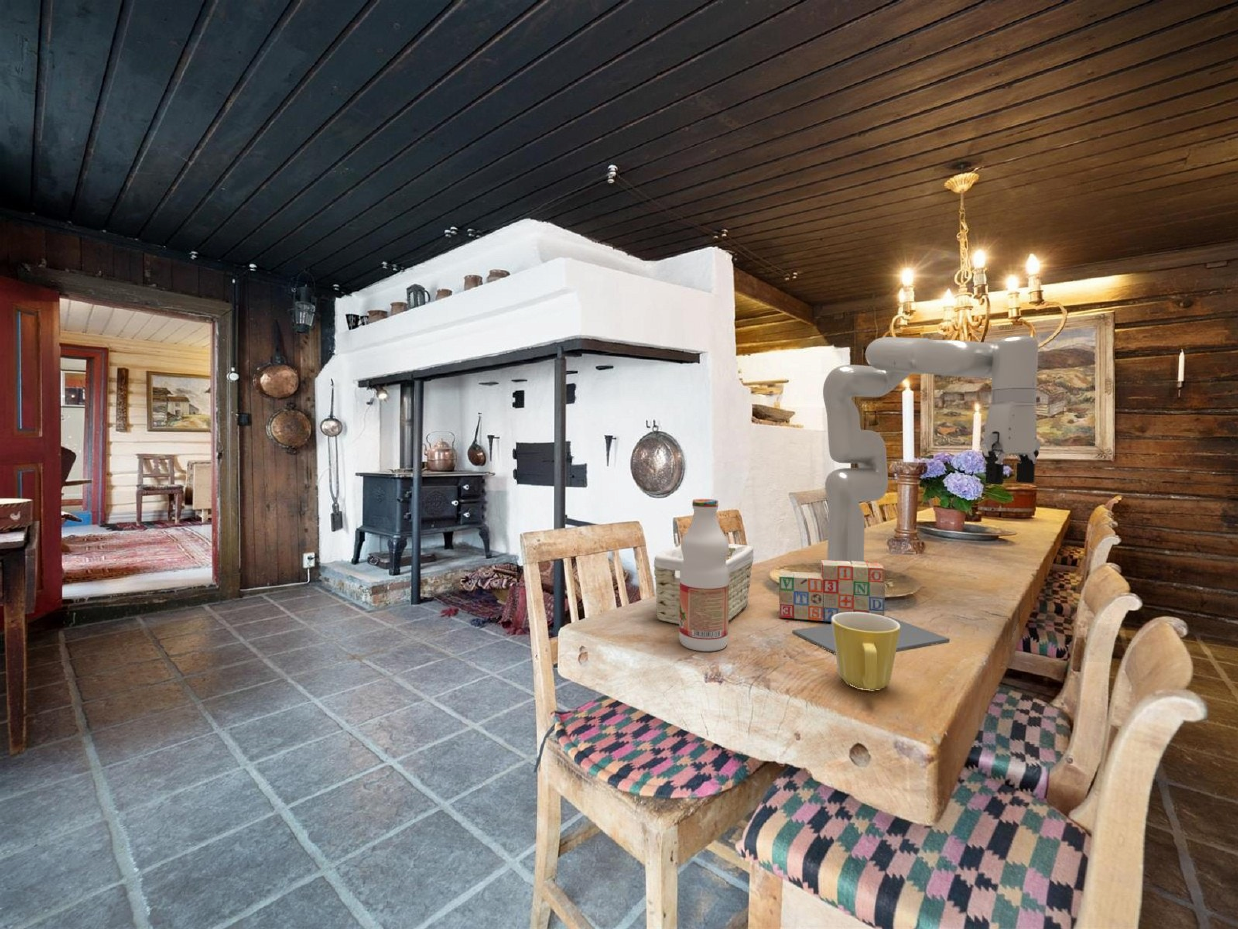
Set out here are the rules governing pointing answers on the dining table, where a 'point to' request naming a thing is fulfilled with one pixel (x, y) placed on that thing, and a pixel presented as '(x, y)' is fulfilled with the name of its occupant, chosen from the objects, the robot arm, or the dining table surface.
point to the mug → (865, 648)
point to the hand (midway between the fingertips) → (1009, 483)
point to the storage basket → (669, 581)
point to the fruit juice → (704, 581)
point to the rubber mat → (908, 633)
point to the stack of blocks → (832, 590)
